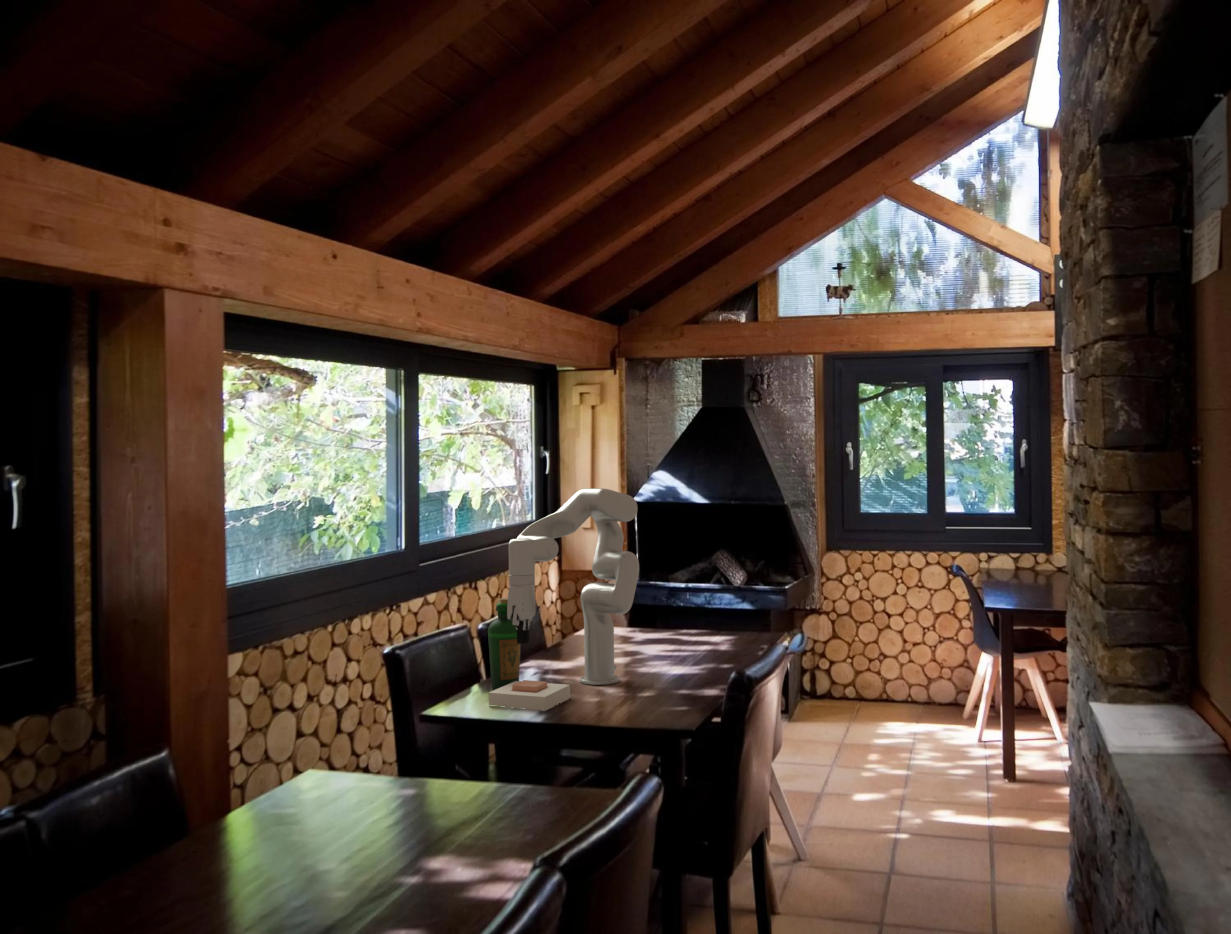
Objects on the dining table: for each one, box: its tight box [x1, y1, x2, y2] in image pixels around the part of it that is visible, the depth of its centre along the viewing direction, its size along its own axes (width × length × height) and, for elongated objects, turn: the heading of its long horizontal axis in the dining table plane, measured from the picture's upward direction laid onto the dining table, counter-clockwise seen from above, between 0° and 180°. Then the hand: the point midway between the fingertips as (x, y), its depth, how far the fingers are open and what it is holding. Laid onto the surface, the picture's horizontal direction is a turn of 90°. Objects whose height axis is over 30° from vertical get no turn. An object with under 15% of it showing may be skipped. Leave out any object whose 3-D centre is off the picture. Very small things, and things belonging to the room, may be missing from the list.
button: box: [512, 679, 548, 693], centre depth 300 cm, size 8×8×4 cm
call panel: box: [488, 680, 571, 712], centre depth 300 cm, size 17×18×4 cm
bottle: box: [487, 597, 522, 690], centre depth 319 cm, size 11×11×28 cm
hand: (523, 643), depth 300 cm, fingers closed
